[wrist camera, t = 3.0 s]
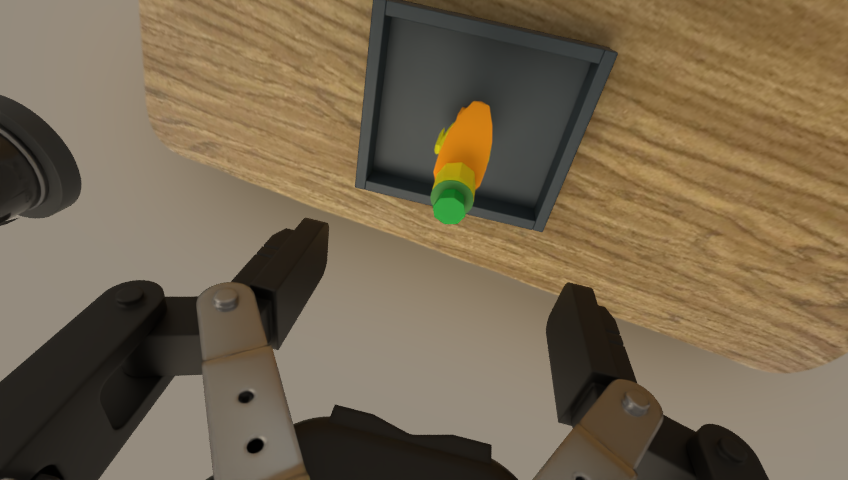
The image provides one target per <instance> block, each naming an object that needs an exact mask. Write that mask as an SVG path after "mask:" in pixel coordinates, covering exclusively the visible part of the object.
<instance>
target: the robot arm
mask: <svg viewBox="0 0 848 480" xmlns="http://www.w3.org/2000/svg"><path fill="white" fill-rule="evenodd" d="M48 192H49V186H48V181H47V177H46V174H45V172H44V170H43V168H42V166H41V164H40V163H39V161H38V160H37V158H36V157H35V155H34V154H33V153H32V152H31V150H30V149H29V148H28V147H27V146H26V145H25V144H24V143H23V142H22V141H21V140H20V139H19V138H18V137H17V136H15V135H14V134H13V133H12V132H10V131H9V130H8V129H6V128H5V127H3V126H2V125H0V226H1V225H4V224H8V223H10V222H12V221H14V220H16V219H13V220H9V221H6V220H8V219H10V218H12V217H14V216H16V215H18V214H20V213H22V212H24V211H27V210H31V209H34V208H36V207H38V206H40V205H41V204H43V203H44V202H45V201H46V199H47V197H48ZM328 236H329V225H328V223H325V222H321V221H318V220H313V219H309V218H304V219H303V220H302V221H301V223H300V224H299V225H298V227H297V228H296V229H295V230H291V229H287V228H286V229H284V230H282V231H280V232H278V233H276V234H274V235H272V236H271V238H270V239H269V240H268V241H267V242H266V243H265V244H264V247H262V248H261V249H260V250H259V251H258V252H257V255H254V256H253V258H252V259H251V260H250V261H249V262H248V263H247V264H246V265H245V267H244V268H243V269H242V270H241V271H240V272H239V273H238V275H236V277H235V278H234V279H233V280H232V281H231V282H226V283H220V284H217V285H214V286H211V287H209V288H208V289H206V290H205V291H204V292H202V293H201V294H200V295H199V296H198V297H165V296H164V291H163V289H162V288H161V286H160V285H158V284H157V283H154V282H151V281H145V280H136V281H129V282H125V283H121V284H119V285H116V286H114V287H112V288H110V289H108V290H107V291H106V292H104V293H103V294H102V295H101V296H100V297H98V298H97V299H96V300H95V301H94V302H93V303H91V304H90V305H89V306H88V307H87V308H86V309H84V310H83V311H82V312H81V313H80V314H79V315H77V317H75V318H74V319H73V320H72V321H71V322H69V323H68V324H67V325H66V326H65V327H64V328H62V329H61V330H60V331H59V332H58V333H57V334H55V335H54V336H53V337H52V338H51V339H50V340H48V341H47V342H46V343H45V344H44V345H43V346H41V347H40V348H39V349H38V350H37V351H36V352H35V353H33V354H32V355H31V356H30V357H29V358H28V359H26V361H24V362H23V363H22V364H21V365H20V366H18V367H17V368H16V369H15V370H14V371H12V372H11V373H10V374H9V375H8V376H7V377H6V378H4V379H3V380H2V381H1V382H0V480H98V479H99V478H100V476H101V475H102V474H103V472H104V471H105V470H106V468H107V467H108V466H109V464H110V463H111V462H112V460H113V459H114V458H115V456H116V455H117V453H118V452H119V451H120V449H121V448H122V447H123V445H124V444H125V443H126V441H127V440H128V439H129V437H130V436H131V435H132V433H133V432H134V430H135V429H136V428H137V426H138V425H139V424H140V422H141V421H142V420H143V418H144V417H145V416H146V414H147V413H148V411H149V410H150V409H151V407H152V406H153V405H154V403H155V402H156V401H157V399H158V398H159V397H160V395H161V394H162V393H163V391H164V390H165V389H166V387H167V386H168V384H169V383H170V382H171V380H172V379H173V378H174V376H179V375H203V384H204V393H205V403H206V412H207V421H208V430H209V440H210V449H211V459H212V467H213V476H211V477H209V478H208V479H206V480H518V479H517V478H516V477H515V476H514V475H513V474H512V473H511V472H510V471H509V470H508V469H506V468H505V467H504V466H502V465H501V464H500V463H498V462H496V461H495V460H493V459H491V445H490V444H486V443H482V442H479V441H475V440H471V439H467V438H463V437H459V436H455V435H412V434H409V433H406V432H405V431H403V430H401V429H399V428H397V427H395V426H394V425H392V424H390V423H388V422H386V421H384V420H383V419H381V418H379V417H377V416H375V415H373V414H370V413H366V412H362V411H358V410H354V409H350V408H346V407H343V406H338V405H335V406H334V408H333V411H332V414H331V416H330V417H318V418H312V419H308V420H303V421H301V422H298V423H295V424H293V422H292V419H291V415H290V411H289V407H288V404H287V400H286V397H285V393H284V389H283V385H282V382H281V378H280V374H279V371H278V367H277V363H276V360H275V357H274V352H273V349H276V350H279V348H280V346H281V345H282V343H283V341H284V340H285V338H286V336H287V335H288V333H289V331H290V330H291V328H292V326H293V325H294V323H295V321H296V320H297V318H298V316H299V315H300V313H301V311H302V310H303V308H304V306H305V305H306V303H307V301H308V299H309V298H310V296H311V295H312V293H313V291H314V290H315V288H316V286H317V285H318V283H319V281H320V280H321V278H322V276H323V274H324V271H325V268H326V264H327V253H328ZM619 334H620V333H619V330H618V327H617V324H616V321H615V319H614V318H613V317H612V315H611V314H610V313H609V312H608V310H607V309H606V308H605V307H603V306H599V305H598V304H597V301H596V297H595V294H594V291H593V289H592V288H590V287H586V286H582V285H577V284H573V283H569V282H568V283H566V284H565V286H564V288H563V289H562V291H561V293H560V295H559V297H558V300H557V302H556V303H555V305H554V307H553V309H552V312H551V313H550V315H549V318H548V321H547V326H546V336H547V344H548V351H549V358H550V365H551V373H552V380H553V387H554V395H555V402H556V409H557V417H558V422H559V423H563V424H567V425H571V426H572V427H573V429H572V431H571V432H570V433H569V434H568V436H567V437H566V438H565V439H564V441H563V442H562V443H561V444H560V446H559V447H558V448H557V449H556V451H555V452H554V453H553V454H552V456H551V457H550V458H549V459H548V461H547V462H546V463H545V464H544V466H543V467H542V468H541V469H540V471H539V472H538V473H537V475H536V476H535V477H534V478H533V480H769V479H768V477H767V475H766V473H765V471H764V469H763V467H762V465H761V463H760V461H759V459H758V457H757V455H756V454H755V453H754V451H753V450H752V449H751V448H750V446H749V445H748V444H747V443H746V442H745V441H744V440H742V439H741V438H740V437H739V436H737V435H736V434H735V433H733V432H732V431H730V430H728V429H726V428H724V427H722V426H719V425H715V424H706V425H703V426H702V427H701V428H700V429H699V430H698V431H696V432H695V431H693V430H691V429H689V428H687V427H686V426H683V425H682V424H680V423H678V422H676V421H674V420H672V419H670V418H668V417H667V416H665V415H663V411H662V408H661V406H660V404H659V403H658V401H657V400H656V399H655V397H654V396H653V395H652V394H651V393H650V392H649V391H647V390H646V389H645V388H644V387H642V386H640V385H639V384H637V381H636V378H635V376H634V372H633V370H632V367H631V364H630V361H629V358H628V355H627V352H626V350H625V347H624V346H623V341H622V338H621V336H620V335H619Z"/></svg>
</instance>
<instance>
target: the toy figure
mask: <svg viewBox="0 0 848 480" xmlns="http://www.w3.org/2000/svg"><path fill="white" fill-rule="evenodd" d="M444 131H445V128H443V129H442V131H441V132H440V134H439V137H438V139H437V142H436V144H435V148H434V152H435V154H439V155H438V158H437V161H436V165H435V168H434V171H433V173H434V177H435V182H434V185H433V189H432V192H431V197H430V198H431V203H432V206H433V211H434V217H435V218H437V219H438V220H439V221H441V222H442V223H444V224H458V223H459V222H460V221H461V220H462V219H463V218H464V217H465V214H466V213H468V212H469V211H470V210H471V208H472V206H473V202H474V196H475V190H476V189H477V188H478V187H479V186H480V184H481V182H482V179H483V176H484V173H485V171H486V168H487V164H488V162H489V158H490V152H491V146H492V120H491V113H490V107H489V106H488V105H487V104H485V103H483V102H482V101H473V102H472V103H471V104H470V105H469V106H468V107H467V108H465V107H462V109H461V110H460V112H459V113H458V115H457V119H456V121H455V123H452V125H451V126H450V127H449V128H448V129H447V131H446V132H445V133H444Z"/></svg>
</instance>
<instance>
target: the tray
mask: <svg viewBox="0 0 848 480" xmlns="http://www.w3.org/2000/svg"><path fill="white" fill-rule="evenodd" d="M617 55H618V53H617V52H616V51H614V50H612V49H610V48H609V47H605V46H601V45H596V44H592V43H588V42H583V41H579V40H574V39H570V38H566V37H561V36H557V35H552V34H548V33H544V32H539V31H535V30H530V29H526V28H522V27H517V26H513V25H508V24H504V23H500V22H495V21H491V20H486V19H482V18H478V17H473V16H469V15H464V14H460V13H456V12H451V11H447V10H442V9H438V8H434V7H429V6H425V5H420V4H416V3H412V2H407V1H403V0H373V6H372V17H371V27H370V37H369V47H368V58H367V68H366V78H365V89H364V99H363V109H362V120H361V130H360V140H359V151H358V161H357V171H356V181H355V187H356V188H360V189H365V190H368V191H372V192H377V193H381V194H385V195H389V196H393V197H397V198H401V199H406V200H410V201H414V202H418V203H422V204H426V205H431V206H432V203H431V198H430V197H431V192H432V189H433V185H434V182H435V177H434V173H433V171H434V168H435V165H436V161H437V158H438V155H439V154H435V152H434V148H435V144H436V142H437V139H438V137H439V134H440V132H441V131H442V129H443V128H445V131H444V133H445V132H446V131H447V129H448V128H449V127H450V126H451V125H452V123H455V121H456V119H457V115H458V113H459V112H460V110H461V109H462V107H465V108H467V107H468V106H469V105H470V104H471V103H472V102H473V101H482V102H483V103H485V104H487V105H488V106H489V107H490V113H491V120H492V146H491V152H490V158H489V162H488V164H487V168H486V171H485V173H484V176H483V179H482V182H481V184H480V186H479V187H478V188H477V189H476V190H475V196H474V202H473V206H472V208H471V210H470V211H469V212H468V213H466V214H468V215H472V216H476V217H481V218H485V219H489V220H493V221H497V222H501V223H505V224H510V225H514V226H518V227H522V228H526V229H530V230H532V229H533V230H535V231H539V232H543V230H544V227H545V225H546V223H547V220H548V218H549V216H550V213H551V211H552V209H553V206H554V204H555V201H556V199H557V197H558V194H559V192H560V190H561V187H562V185H563V183H564V180H565V178H566V175H567V173H568V171H569V168H570V166H571V164H572V161H573V159H574V157H575V154H576V152H577V149H578V147H579V145H580V142H581V140H582V138H583V135H584V133H585V131H586V128H587V126H588V123H589V121H590V119H591V116H592V114H593V112H594V109H595V107H596V105H597V102H598V100H599V97H600V95H601V93H602V90H603V88H604V86H605V83H606V81H607V79H608V76H609V74H610V71H611V69H612V67H613V64H614V62H615V60H616V57H617Z"/></svg>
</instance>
